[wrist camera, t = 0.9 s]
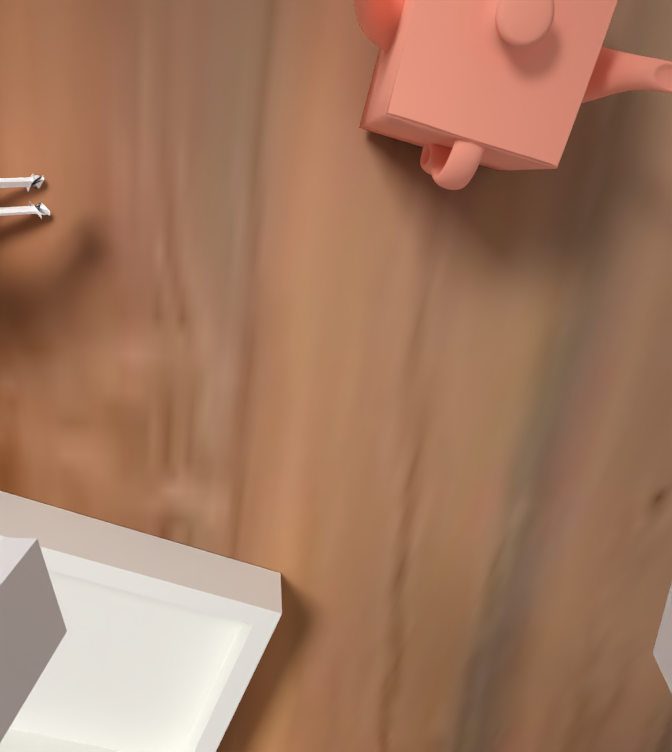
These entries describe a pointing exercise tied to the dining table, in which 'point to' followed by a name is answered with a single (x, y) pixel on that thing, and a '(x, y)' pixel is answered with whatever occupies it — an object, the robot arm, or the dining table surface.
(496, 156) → the teapot
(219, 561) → the tray
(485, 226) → the dining table surface
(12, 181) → the white flat pronged piece
